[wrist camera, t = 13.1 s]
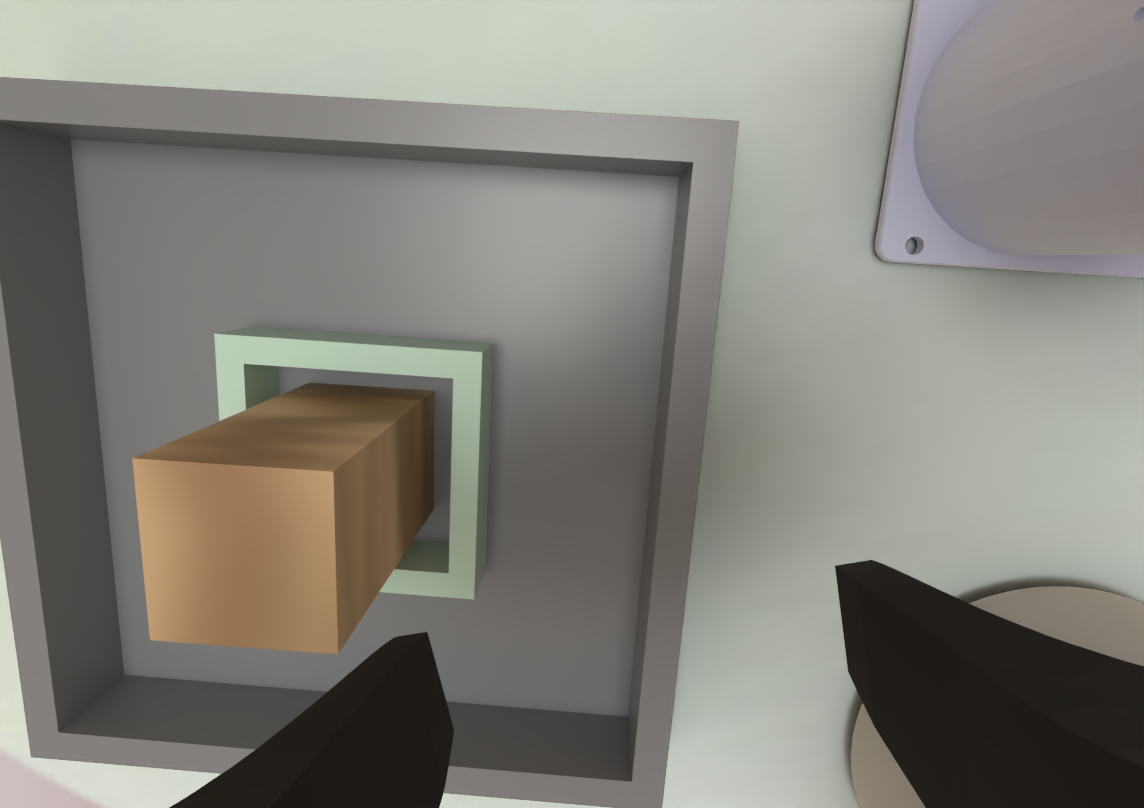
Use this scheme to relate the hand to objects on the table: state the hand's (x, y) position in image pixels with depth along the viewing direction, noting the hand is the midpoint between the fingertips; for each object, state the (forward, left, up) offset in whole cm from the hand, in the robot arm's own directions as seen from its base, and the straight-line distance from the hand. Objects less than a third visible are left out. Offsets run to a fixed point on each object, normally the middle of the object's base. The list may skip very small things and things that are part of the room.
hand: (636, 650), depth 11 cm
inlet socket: (+8, 0, -10) cm, 13 cm away
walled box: (+8, 0, -10) cm, 13 cm away
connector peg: (+8, 0, -10) cm, 13 cm away
